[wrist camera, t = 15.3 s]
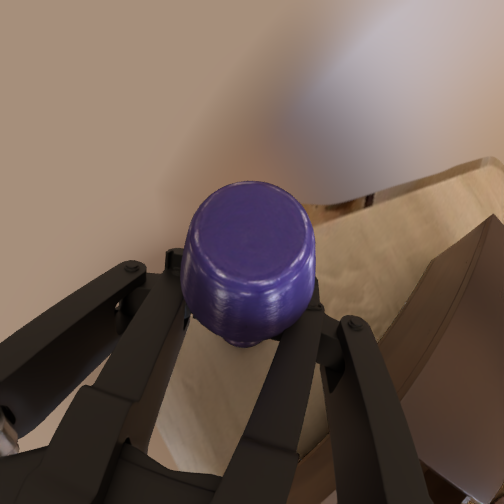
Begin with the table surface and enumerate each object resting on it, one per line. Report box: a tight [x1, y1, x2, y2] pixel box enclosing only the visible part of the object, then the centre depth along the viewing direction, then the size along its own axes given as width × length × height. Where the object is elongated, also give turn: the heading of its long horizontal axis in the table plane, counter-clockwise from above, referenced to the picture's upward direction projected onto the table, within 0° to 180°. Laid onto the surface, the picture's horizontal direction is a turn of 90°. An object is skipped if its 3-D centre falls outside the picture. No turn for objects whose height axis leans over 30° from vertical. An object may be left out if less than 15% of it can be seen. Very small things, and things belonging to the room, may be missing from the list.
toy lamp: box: [180, 181, 316, 348], centre depth 14 cm, size 5×5×17 cm
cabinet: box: [377, 214, 504, 504], centre depth 16 cm, size 17×14×10 cm
